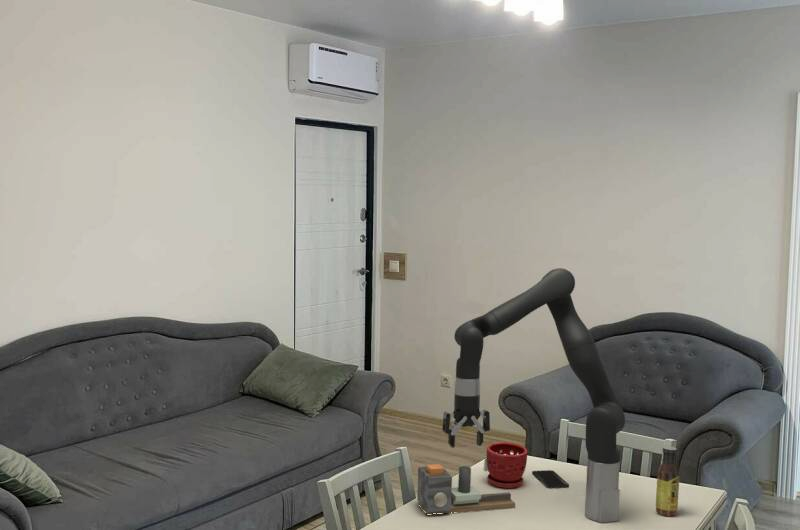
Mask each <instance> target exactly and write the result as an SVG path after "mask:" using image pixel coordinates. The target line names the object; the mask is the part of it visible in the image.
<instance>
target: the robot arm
mask: <svg viewBox="0 0 800 530" xmlns="http://www.w3.org/2000/svg"><path fill="white" fill-rule="evenodd" d="M575 287H576V280H575V276H574V274H573V273H572V272H571V271H570V270H568V269H565V268H563V267H562V268H561V267H560V268H559V267H558V268H557V267H556V268H553V269H551V270H549V271H548V272H547V273H546V274H545V275H543V277H542V278H541V279H540V280H539V281H538V282H537V283H536V284H534V285H533V286H532V287H530V288H527V290H525V291H524V292H522V293H520V294H518V295H516V296H515V297H513V298H511V299H509V300H507V301H505V302H503V303H501V304H499V305H498V306H495V308H493V309H491V310H489V311H488V312H486V313H485V314H484V313H483V314H482V315H481V316H478V317H475V318H473V319H470V320H467V321H465V322H464V323H462V324H460V325H459V326H458V327H457V328H456V330H455V332H454V340H455V341H454V342H456V344H457V345H458V346H459V347H460V351H459V357H458V358H457V359H456V364H455V380H454V389H453V391H454V397H453V398H454V399H453V400H454V402H453V403H454V404H453V407H454V408H453V412H447V411H444V412H443V418H442V428H441V429H442V432H443V433H445V434H446V435H448V437H447V438H448V439H447V441H448V445H449V447H451V448H452V449H453V448H456V447H455V446H456V435H455V434H456V433H457V432H458V431H459V430H460V429H461V427H462V428H467V427H473V426H474V428H475V429H476V430H477V431H476V445H477V447H478V446H479V447H480V446H482V444H483V443H484V433H485V432H489V431H490V430H491V426H490V425H491V423H490V422H491V421H490V418H491V417H490V415H491V414H490V412H489V410H487V409H483V410H480V404H481V403H480V402H481V381H480V380H481V379H480V378H481V377H480V374H481V372H480V371H481V364H480V363H481V359H482V356H483V355H482V354H483V351H484V343H485V342H484V339H485V338H486V337H488V336H496V335H497V334H500V333H502V332H504V331H505V330H507V329H508V328H511V327H512V326H514V325H515V324H517V323H518V322H520V321H521V320H523V319H524V318H525V317H527V316H528V315H530V314H531V313H533V312H534V311H536V310H537V309H539V308H541V307H543V306H544V305H547V307H548V309H549V313H551V315H552V318H553V321H554V323H555V326H556V330H557V333H558V336H559V339H560V341H561V345H562V348H563V352H564V354H565V357H566V359H567V362H568V364H569V367H570V369H571V371H573V373H574V374H575V376H576V377H577V378H578V379H579V381H580V382H581V383H582V385H583V386H584V388H585V389H586V390H587V392H588V395H589V397H590V401H591V403H592V406H593V408H592V409H591V410H590V411H589V412H588V413H587V416H586V420H585V448H586V451H587V458H586V459H587V460H586V461H587V463H586V464H587V465H586V484H585V485H586V486H585V503H584V505H585V506H584V515H585V516H586V518H587V519H589V520H592V521H595V522H598V523H599V524H600V523H601V524H602V523H611V522H613V523H614V522H619V517H620V516H619V515H620V514H619V511H620V493H621V491H620V489H619V483H620V465H621V464H620V463H621V452H620V450H619V449H618V448H617V434H619V433H620V432H621V431H622V430H623V429H624V427H625V424H626V416H625V412H624V410H623V408H622V406H621V404H620V402H619V400H618V398H617V396H616V394H615V392H614V390H613V388H612V385H611V383H610V381H609V378H608V375H607V372H606V369H605V367H604V365H603V361H602V359H601V355H600V353H599V351H598V348H597V346H596V345H597V344H596V343H595V340H594V338H593V335H592V334H591V332H590V331H589V329H588V328H587V326H586V325H585V323H584V322H583V321H582V319H581V317H580V316H579V315H578V311H576V308H575V304H574V302H573V298H572V293H573V291H574V290H575ZM480 417H481V418H482V425H481V424H480V422H479V421H478V420H479V418H480ZM453 419H454V421H452V420H453ZM451 421H452V423H451Z"/></svg>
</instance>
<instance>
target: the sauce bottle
mask: <svg viewBox="0 0 800 530" xmlns="http://www.w3.org/2000/svg"><path fill="white" fill-rule="evenodd" d="M677 454H678V448H676V447H675V446H670V445H669V446H667V445H666V446H663V447H662V461H661V462H662V463H661V464H660V465H659V467H658V469H657V477H656V478H657V479H656V490H655V491H656V494H655V495H656V496H655V511H656V513H657V514H659V515H661V516H664V517H673V516H676V515H677V510H678V507H679V506H678V503H679V490H680V488H679V487H680V473H679V469H678V466H677Z"/></svg>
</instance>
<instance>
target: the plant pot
mask: <svg viewBox="0 0 800 530" xmlns="http://www.w3.org/2000/svg"><path fill="white" fill-rule="evenodd" d="M500 450H502V452H501V453H500ZM511 452H512V454H511ZM517 453H518V454H517ZM503 454H504V455H503ZM486 458H487V467H488V471H489V472H488V473H489V474H488V475H487V481H488V482H489V483H490V484H491V485H493V486H495V487H499V488H502V489H514V488H517V487H520V486H521V485H522V484H523V482H524V478H523V475H524V473H525V470H526V466H527V463H528V449H527V448H526V447H525V446H522V445H520V444H517V443H511V442H495V443H494V442H493V443H491V444H489V445H487V447H486Z"/></svg>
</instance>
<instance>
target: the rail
mask: <svg viewBox="0 0 800 530" xmlns="http://www.w3.org/2000/svg"><path fill="white" fill-rule="evenodd" d="M417 471H418V472H417V505H418V504H419V505H420V506H421V508H422V509H423V510H424V511H425V512H426V513H427V514H433V513H436V514H437V513H451V512H452V513H453V514H455V513H454V512H464V513H469V512H468V511H475V512H482V511H483V510H486V511H493V510H495V509H497V510H506V509H516V502H515V501H514V500H513V499H512V494H511V493H510V492H509V491H508V492H506V491H505V492H497V493H494V492H493V493H484V494H483V493H481V499H479V502H477V503H466V504H455V505H454V504H453V498H452V497H451V492H452V488H453V480H452V479H453V476H452V475H451V474H450V473H449V472H448V471H447V470H446V469H444V474H437V475H429V474H428V473H427V472H426V466H418V467H417ZM421 508H420V509H421ZM481 510H482V511H481ZM483 512H484V511H483Z"/></svg>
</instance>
